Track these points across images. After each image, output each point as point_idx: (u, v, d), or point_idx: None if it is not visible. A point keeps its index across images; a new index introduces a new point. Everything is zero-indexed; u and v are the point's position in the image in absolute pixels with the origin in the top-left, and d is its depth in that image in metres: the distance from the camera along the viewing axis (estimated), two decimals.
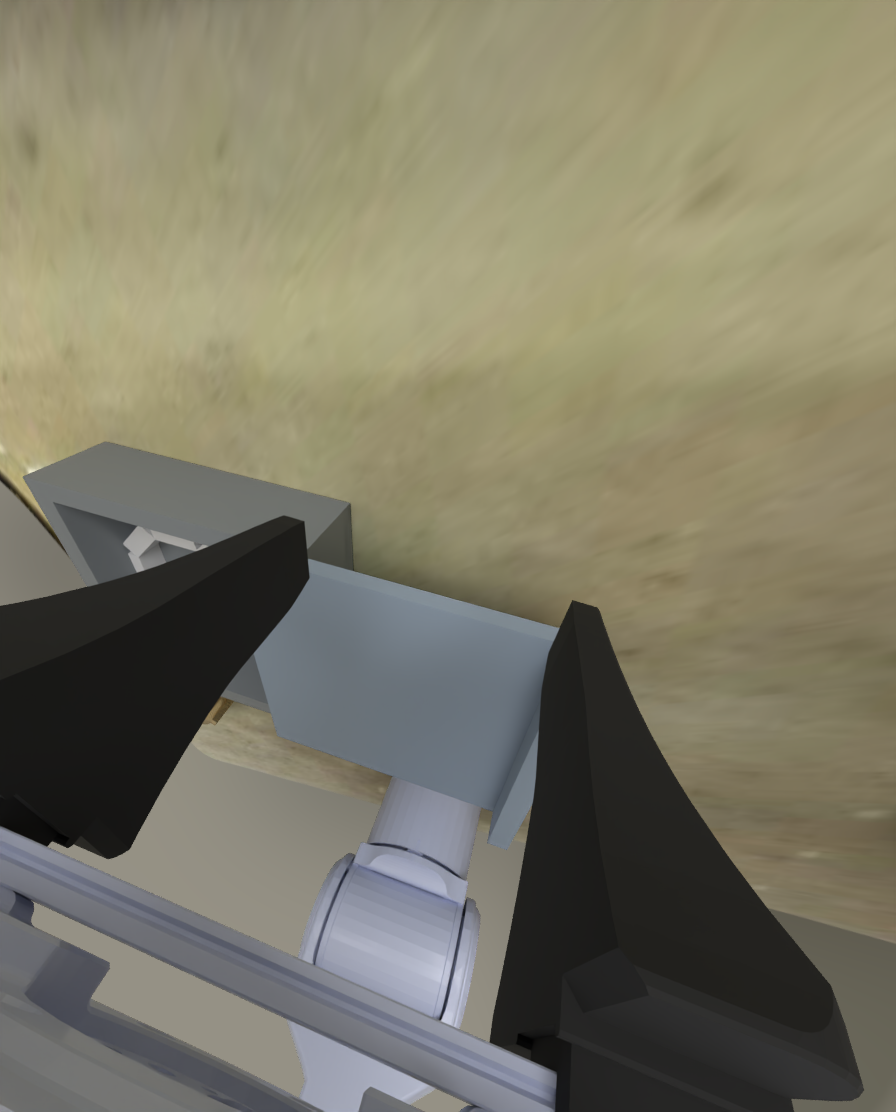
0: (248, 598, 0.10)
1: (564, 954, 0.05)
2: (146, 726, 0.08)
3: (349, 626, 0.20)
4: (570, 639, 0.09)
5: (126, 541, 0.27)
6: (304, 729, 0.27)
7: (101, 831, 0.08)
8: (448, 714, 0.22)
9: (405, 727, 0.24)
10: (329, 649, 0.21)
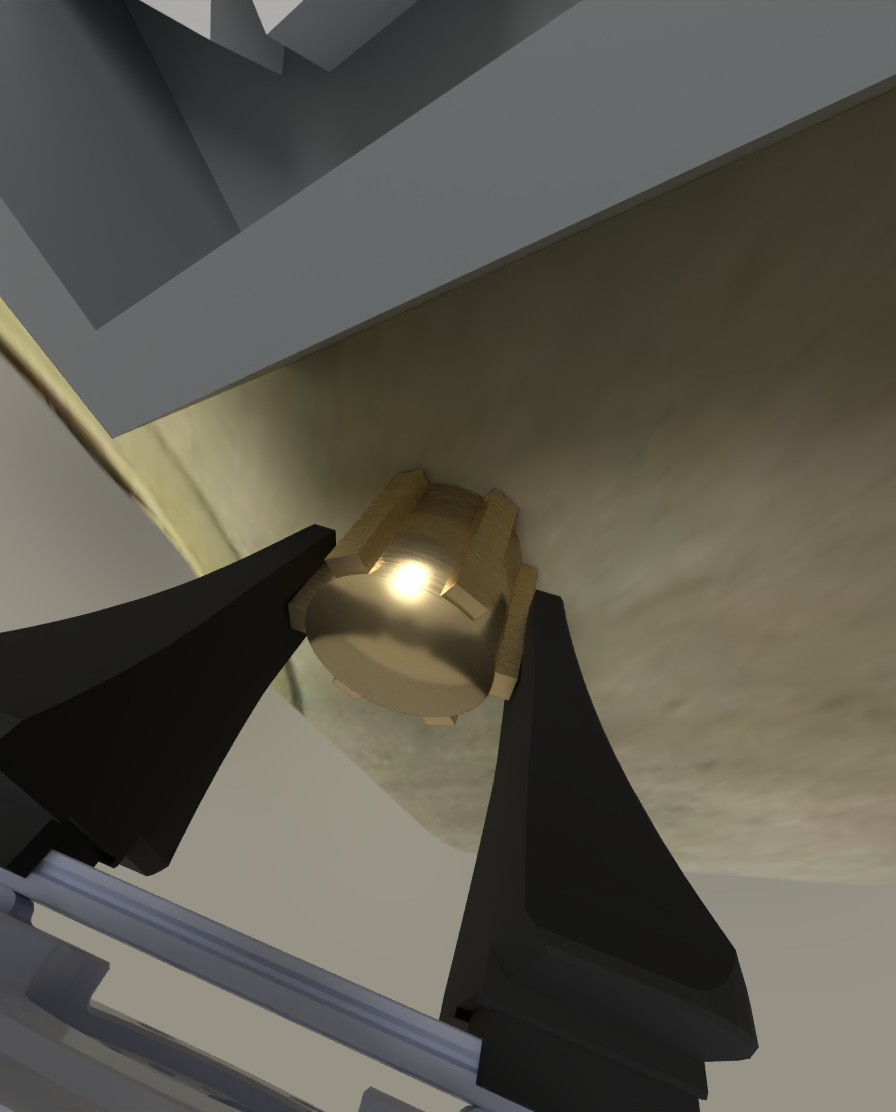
0: (282, 609, 0.10)
1: (493, 925, 0.05)
2: (188, 742, 0.08)
3: None
4: (530, 627, 0.09)
5: None
6: None
7: (143, 849, 0.07)
8: None
9: None
10: None
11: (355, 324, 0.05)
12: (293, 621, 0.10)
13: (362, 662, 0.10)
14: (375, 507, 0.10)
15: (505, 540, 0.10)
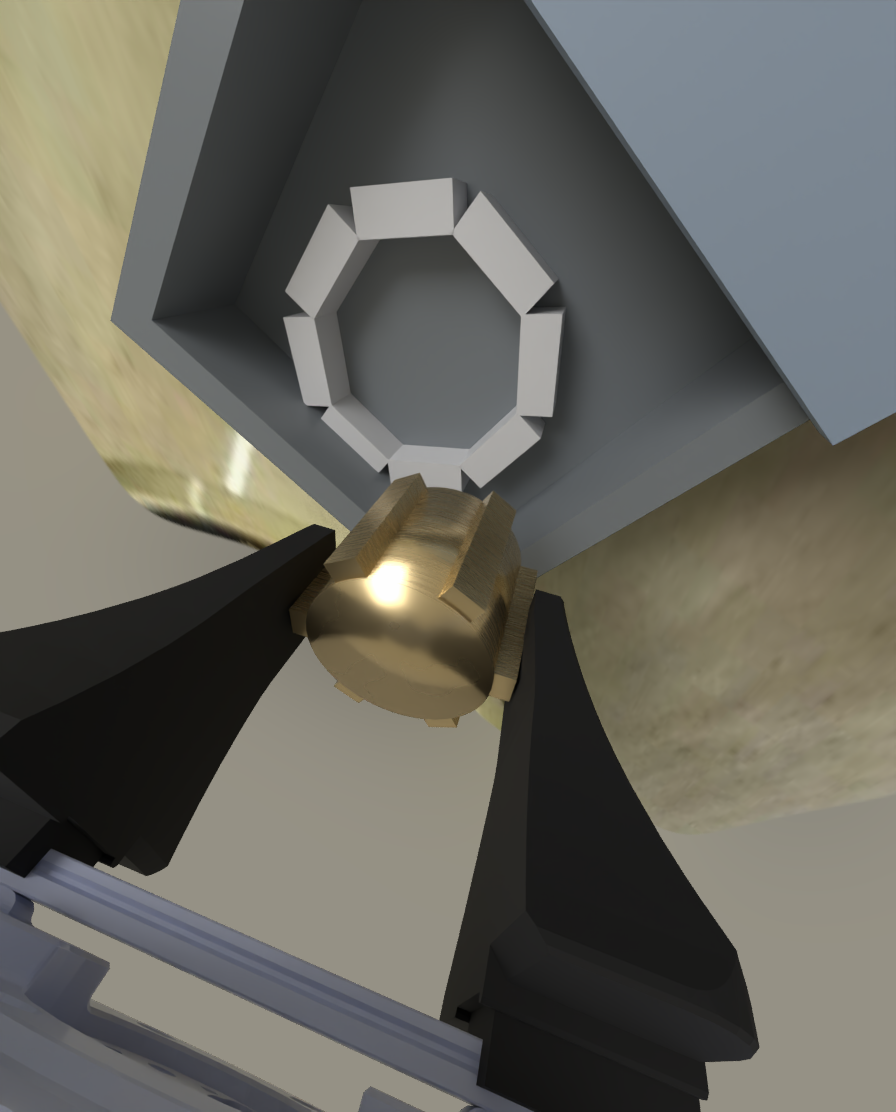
0: (282, 609, 0.10)
1: (493, 925, 0.05)
2: (187, 742, 0.08)
3: None
4: (530, 627, 0.09)
5: (302, 390, 0.16)
6: None
7: (142, 849, 0.07)
8: None
9: None
10: None
11: (546, 571, 0.15)
12: (294, 625, 0.10)
13: (363, 665, 0.10)
14: (373, 511, 0.10)
15: (503, 542, 0.10)
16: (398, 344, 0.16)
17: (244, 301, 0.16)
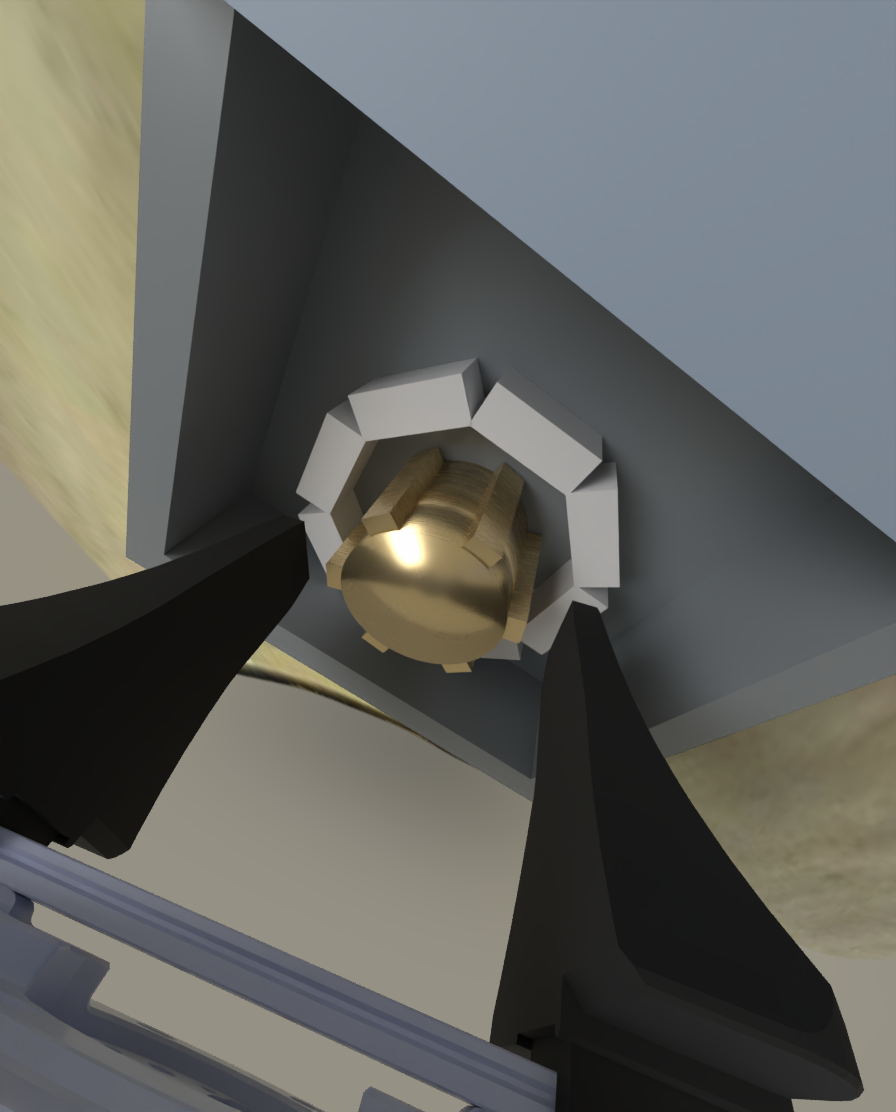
0: (247, 598, 0.10)
1: (564, 954, 0.05)
2: (146, 726, 0.08)
3: None
4: (570, 639, 0.09)
5: None
6: None
7: (101, 831, 0.08)
8: None
9: None
10: None
11: None
12: (329, 579, 0.11)
13: (390, 614, 0.11)
14: (400, 478, 0.11)
15: (514, 505, 0.11)
16: None
17: (258, 489, 0.15)
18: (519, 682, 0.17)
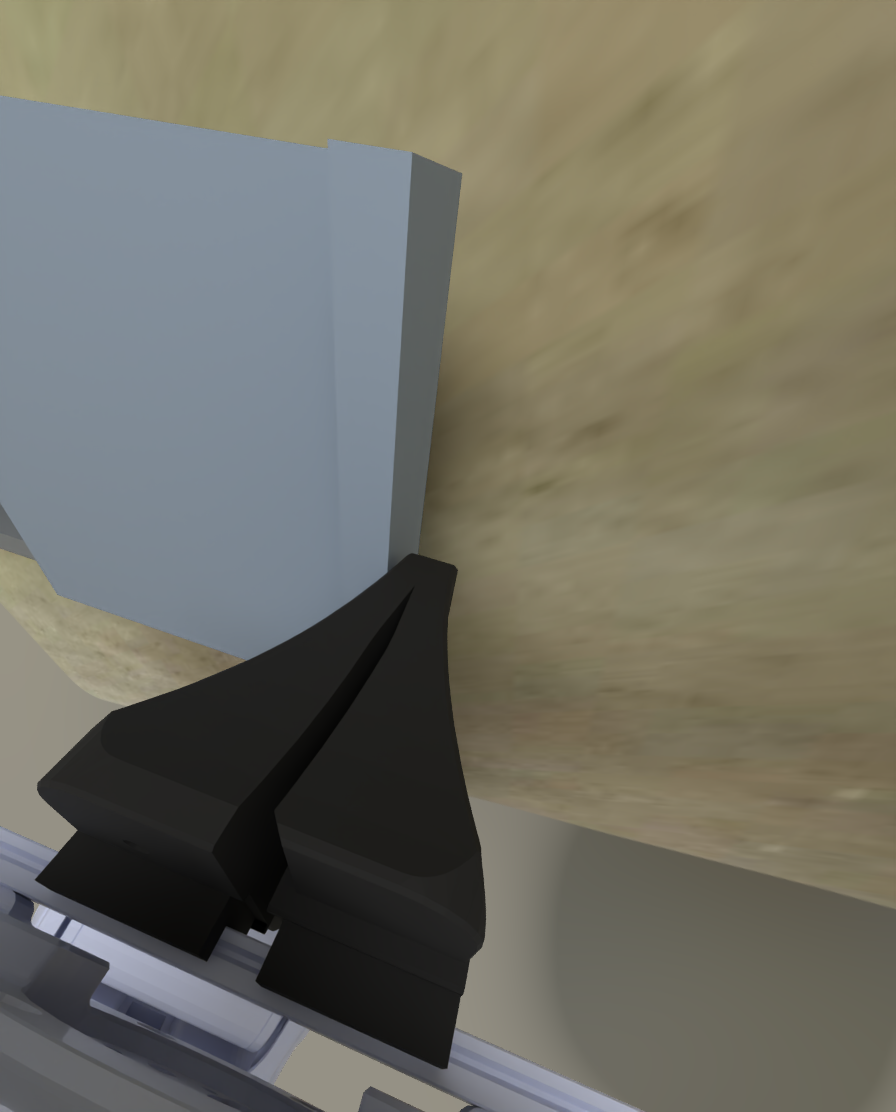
0: None
1: None
2: None
3: (11, 255, 0.10)
4: None
5: None
6: (79, 572, 0.18)
7: None
8: (242, 481, 0.12)
9: (197, 533, 0.14)
10: (17, 344, 0.12)
11: None
12: None
13: None
14: None
15: None
16: None
17: None
18: None
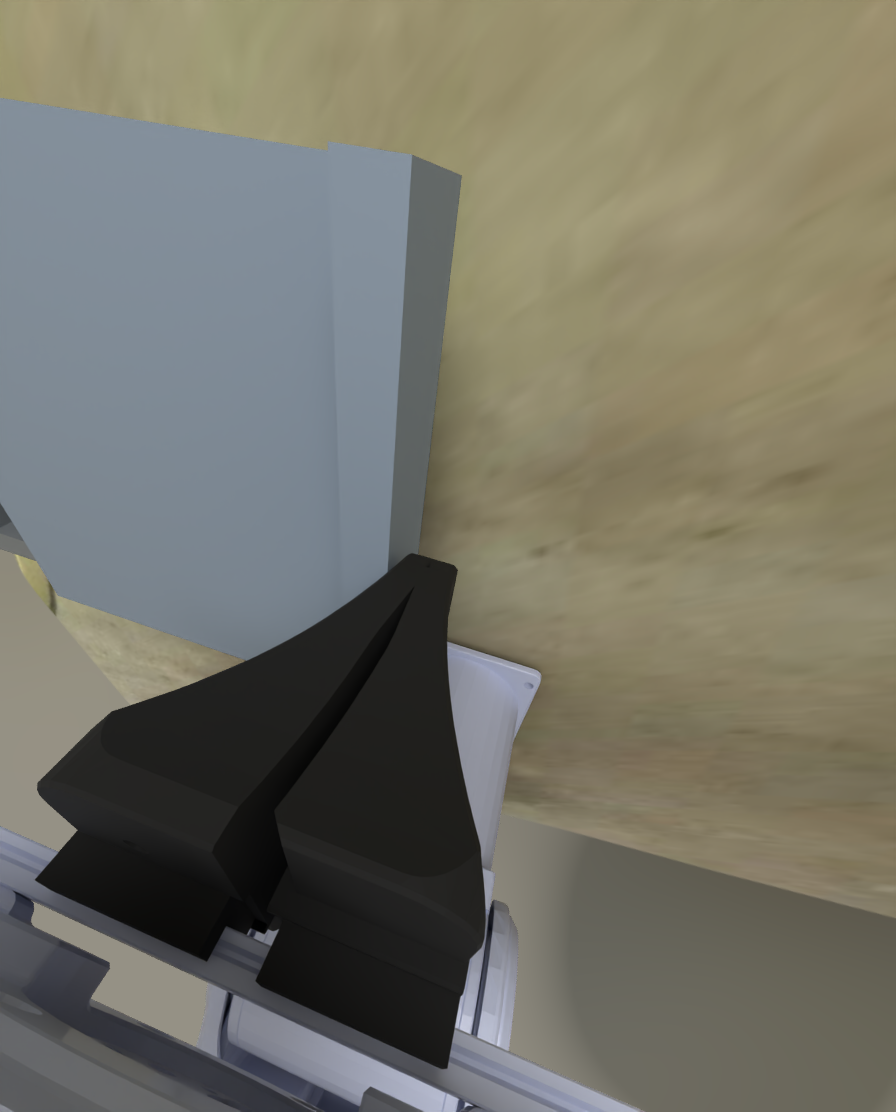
0: None
1: None
2: None
3: (12, 257, 0.10)
4: None
5: None
6: (79, 573, 0.18)
7: None
8: (243, 481, 0.12)
9: (198, 534, 0.14)
10: (17, 346, 0.12)
11: None
12: None
13: None
14: None
15: None
16: None
17: None
18: None
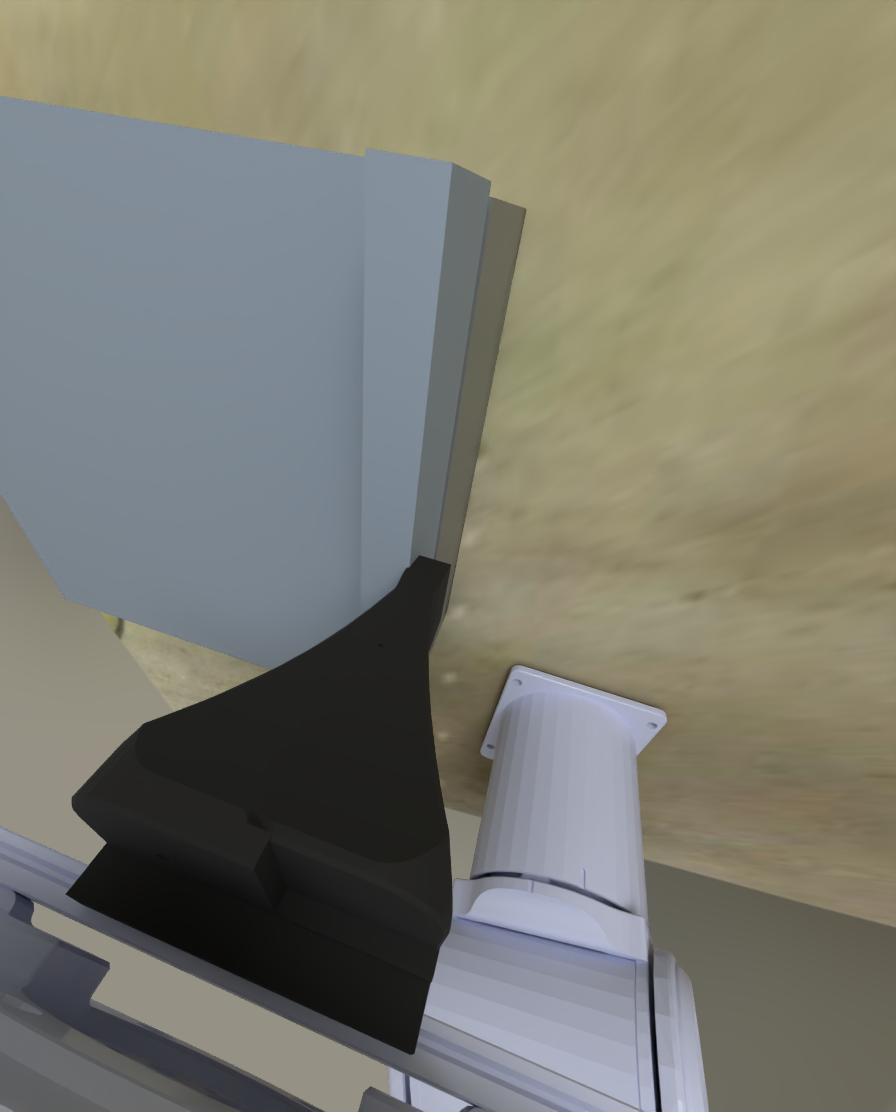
0: None
1: None
2: None
3: (28, 260, 0.10)
4: None
5: None
6: (88, 577, 0.18)
7: None
8: (258, 486, 0.12)
9: (210, 539, 0.14)
10: (30, 349, 0.11)
11: None
12: None
13: None
14: None
15: None
16: None
17: None
18: None
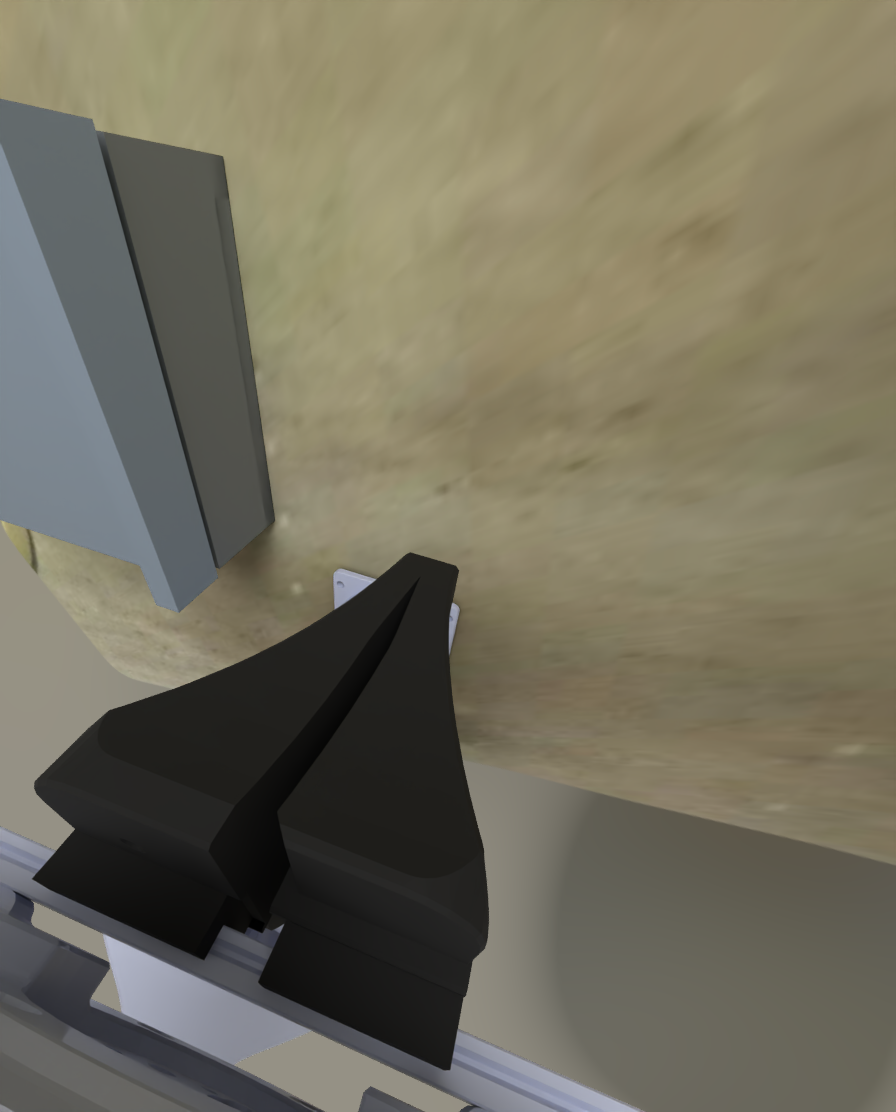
0: (391, 644, 0.09)
1: None
2: None
3: None
4: None
5: None
6: None
7: None
8: (31, 370, 0.16)
9: (18, 424, 0.18)
10: None
11: None
12: None
13: None
14: None
15: None
16: None
17: None
18: None
